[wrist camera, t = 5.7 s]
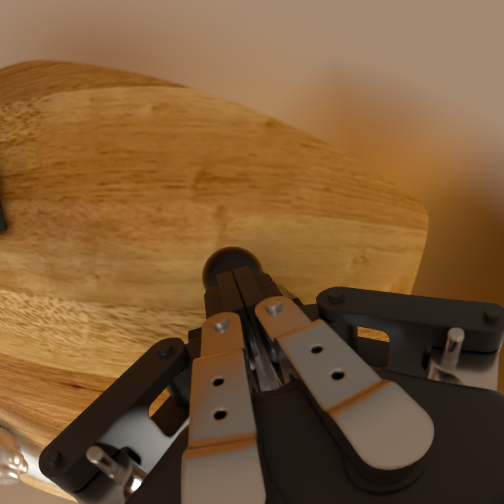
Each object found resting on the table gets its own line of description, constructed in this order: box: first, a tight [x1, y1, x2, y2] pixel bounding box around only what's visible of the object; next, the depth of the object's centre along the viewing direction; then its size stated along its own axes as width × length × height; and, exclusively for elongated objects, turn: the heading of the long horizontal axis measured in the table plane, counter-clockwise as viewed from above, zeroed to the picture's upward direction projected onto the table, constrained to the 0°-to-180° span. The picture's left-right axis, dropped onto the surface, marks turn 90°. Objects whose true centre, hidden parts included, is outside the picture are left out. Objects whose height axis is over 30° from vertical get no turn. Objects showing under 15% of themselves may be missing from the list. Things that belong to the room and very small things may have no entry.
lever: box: [202, 247, 279, 391], centre depth 14 cm, size 16×3×3 cm, turn 15°
